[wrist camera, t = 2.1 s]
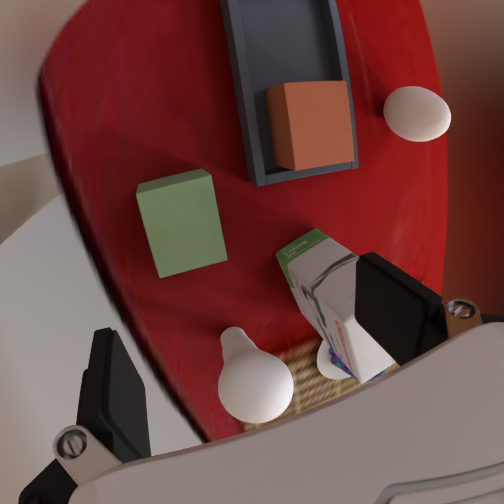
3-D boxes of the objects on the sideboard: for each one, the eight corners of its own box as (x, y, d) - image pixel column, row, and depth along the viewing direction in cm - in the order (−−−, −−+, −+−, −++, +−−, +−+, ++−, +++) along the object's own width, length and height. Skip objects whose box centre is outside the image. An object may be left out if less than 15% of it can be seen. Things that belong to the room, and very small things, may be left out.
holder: (248, 182, 26) (257, 187, 24) (217, -13, 18) (223, -23, 16) (345, 164, 28) (358, 167, 26) (319, -10, 20) (331, -17, 18)
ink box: (272, 251, 29) (341, 322, 18) (317, 225, 29) (401, 280, 19) (301, 315, 33) (362, 390, 22) (339, 291, 33) (409, 355, 23)
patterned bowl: (363, 375, 41) (382, 398, 37) (298, 375, 36) (316, 404, 32) (404, 306, 38) (429, 326, 34) (342, 292, 33) (370, 317, 29)
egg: (412, 128, 28) (467, 136, 22) (379, 144, 28) (436, 155, 21) (398, 82, 26) (455, 80, 19) (363, 95, 25) (421, 93, 19)
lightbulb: (269, 313, 31) (319, 388, 22) (245, 358, 33) (283, 436, 23) (213, 300, 29) (248, 383, 19) (192, 350, 30) (217, 436, 20)
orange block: (274, 164, 25) (295, 171, 21) (263, 88, 22) (283, 82, 19) (328, 155, 26) (354, 161, 23) (319, 85, 23) (346, 80, 20)
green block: (157, 257, 25) (159, 278, 22) (138, 184, 23) (135, 194, 19) (216, 241, 27) (227, 260, 23) (202, 168, 24) (211, 175, 20)
